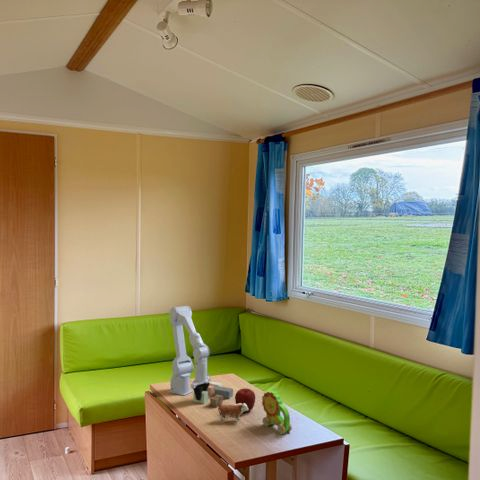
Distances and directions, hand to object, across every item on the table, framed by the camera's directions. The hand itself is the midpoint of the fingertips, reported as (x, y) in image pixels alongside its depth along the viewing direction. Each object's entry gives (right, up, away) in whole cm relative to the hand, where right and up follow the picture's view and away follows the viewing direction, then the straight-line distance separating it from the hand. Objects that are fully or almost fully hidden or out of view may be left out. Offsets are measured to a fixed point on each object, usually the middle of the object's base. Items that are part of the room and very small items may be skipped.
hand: (200, 398), depth 241 cm
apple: (+22, -2, -10) cm, 24 cm away
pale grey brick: (+6, -1, +16) cm, 17 cm away
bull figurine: (+16, -3, -22) cm, 28 cm away
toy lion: (+34, -4, -29) cm, 45 cm away
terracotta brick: (+3, -1, +11) cm, 12 cm away
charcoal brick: (+11, -2, +8) cm, 14 cm away
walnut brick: (+8, -2, -4) cm, 9 cm away
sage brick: (0, -1, 0) cm, 1 cm away
